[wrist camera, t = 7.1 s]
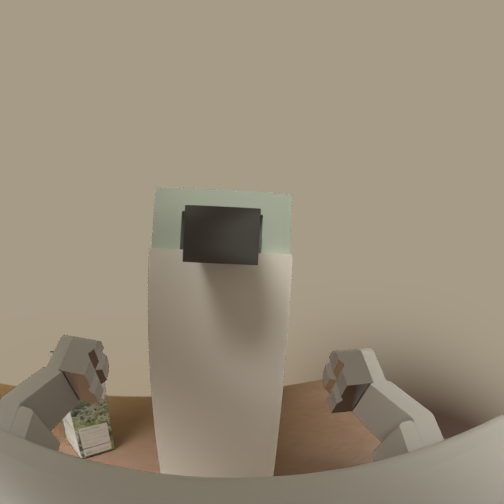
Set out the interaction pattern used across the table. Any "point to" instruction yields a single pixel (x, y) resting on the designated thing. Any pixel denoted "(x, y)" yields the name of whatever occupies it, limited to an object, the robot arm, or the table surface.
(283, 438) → the table surface
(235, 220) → the domino bar
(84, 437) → the syrup box
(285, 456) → the table surface
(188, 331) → the slot stand
